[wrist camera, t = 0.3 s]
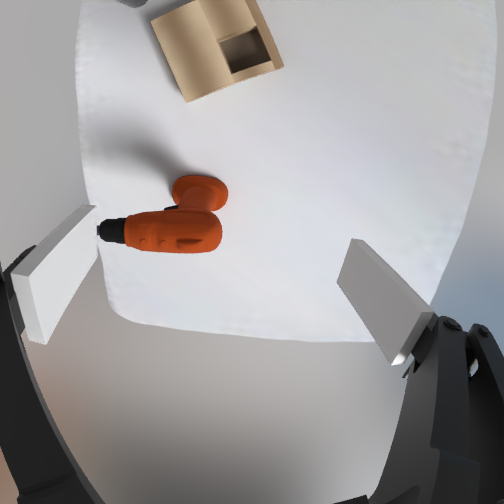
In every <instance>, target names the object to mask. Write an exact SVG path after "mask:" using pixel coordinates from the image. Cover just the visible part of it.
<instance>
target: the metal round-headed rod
mask: <svg viewBox="0 0 504 504" xmlns="http://www.w3.org/2000/svg"><path fill="white" fill-rule="evenodd" d="M116 1H118V2H121V3H123V4H125V5H128V6H130V7H133V8H136V7H140V6H142V5H144V4H145V3H146V2H147V1H148V0H116Z"/></svg>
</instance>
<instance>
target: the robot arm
mask: <svg viewBox="0 0 504 504" xmlns="http://www.w3.org/2000/svg"><path fill="white" fill-rule="evenodd" d="M96 258H97V206H94V205H82V206H80V208H78V209H77V210H76V211H74V212H73V213H72V214H71V215H70V216H69V217H68V218H66V220H64V221H63V222H62V223H61V224H60V225H59V226H57V227H56V228H55V229H54V230H53V231H52V232H51V233H50V234H49V235H48V236H47V237H46V238H45V239H44V240H42V241H41V242H40V244H38V245H37V246H36V245H34V246H32V247H30V248H28V249H26V250H25V251H24V252H23V253H21V254H20V255H19V257H18V258H16V259H15V260H14V262H13V263H12V264H11V265H10V266H9V267H8V268H7V269H6V270H5V271H4V272H2V268H1V263H0V447H1V449H2V452H3V455H4V457H5V460H6V462H7V465H8V467H9V470H10V472H11V474H12V477H13V479H14V481H15V483H16V485H17V488H18V490H19V496H18V498H17V502H18V504H105V502H104V501H103V500H102V499H101V497H100V496H99V495H98V493H97V492H96V490H95V489H94V487H93V486H92V484H91V483H90V482H89V480H88V479H87V477H86V476H85V474H84V472H83V471H82V469H81V468H80V466H79V465H78V463H77V462H76V460H75V458H74V456H73V455H72V453H71V451H70V450H69V448H68V446H67V444H66V442H65V441H64V439H63V437H62V435H61V433H60V431H59V429H58V427H57V426H56V423H55V421H54V419H53V417H52V415H51V413H50V411H49V409H48V407H47V404H46V402H45V400H44V398H43V395H42V393H41V391H40V388H39V386H38V383H37V381H36V379H35V376H34V373H33V370H32V368H31V365H30V362H29V360H28V357H27V353H26V350H25V347H24V344H23V341H22V338H21V333H22V332H23V330H24V329H26V332H27V335H28V338H29V340H30V341H33V342H37V343H41V344H45V345H46V344H47V342H48V340H49V338H50V336H51V334H52V332H53V331H54V329H55V327H56V325H57V323H58V321H59V319H60V318H61V316H62V314H63V312H64V311H65V309H66V307H67V305H68V304H69V302H70V300H71V298H72V297H73V295H74V293H75V292H76V290H77V288H78V287H79V285H80V283H81V282H82V280H83V279H84V277H85V275H86V274H87V272H88V271H89V269H90V267H91V266H92V264H93V263H94V261H95V260H96ZM337 284H338V285H339V287H340V288H341V290H342V291H343V293H344V294H345V295H346V297H347V298H348V300H349V301H350V303H351V304H352V306H353V307H354V309H355V310H356V312H357V313H358V315H359V316H360V318H361V319H362V321H363V322H364V324H365V325H366V327H367V329H368V330H369V332H370V333H371V335H372V336H373V338H374V339H375V341H376V342H377V344H378V345H379V347H380V349H381V350H382V352H383V353H384V355H385V357H386V358H387V360H388V361H389V363H390V365H397V364H403V363H405V361H406V359H407V358H408V356H409V355H410V353H412V355H413V356H414V360H413V361H412V363H411V364H410V366H409V368H408V369H407V370H406V372H405V373H404V375H403V377H402V378H405V376H406V375H408V379H407V380H408V381H407V386H406V390H405V396H404V400H403V404H402V409H401V413H400V417H399V421H398V424H397V428H396V432H395V435H394V439H393V442H392V445H391V449H390V452H389V455H388V458H387V461H386V464H385V467H384V470H383V473H382V476H381V479H380V481H379V484H378V487H377V488H376V490H375V492H374V493H373V495H372V496H371V497H370V498H369V499H367V496H366V495H363V496H360V497H357V498H353V499H349V500H346V501H342V502H338V503H334V504H504V357H503V355H502V353H501V351H500V349H499V347H498V345H497V343H496V341H495V339H494V337H493V335H492V334H491V332H490V331H489V330H488V328H487V327H485V326H483V325H480V324H473V325H472V327H471V329H470V330H469V332H465V331H463V330H462V327H461V326H460V325H459V324H458V323H457V322H456V321H455V320H454V319H451V318H449V317H446V316H441V317H438V316H437V315H436V314H435V313H434V311H433V310H432V309H431V308H430V307H429V305H428V304H427V303H426V302H425V301H424V300H423V299H422V298H421V297H420V296H419V295H418V294H417V293H416V292H415V291H414V290H413V289H412V288H411V287H410V286H409V284H408V283H407V282H406V281H405V280H404V279H403V278H402V277H401V276H400V275H399V274H398V273H397V272H396V271H395V270H394V269H393V268H392V267H391V266H390V265H389V264H388V263H387V262H386V261H384V260H383V259H382V258H381V257H380V256H379V255H378V254H377V253H376V252H375V251H374V250H373V249H372V248H371V247H370V246H369V245H368V244H367V243H366V242H365V241H364V240H358V239H351V242H350V245H349V248H348V251H347V254H346V257H345V260H344V263H343V266H342V268H341V271H340V274H339V277H338V280H337ZM477 363H478V370H477V371H476V373H475V374H474V375H473V376H471V374H470V372H471V371H472V370H473V368H474V367H475V365H476V364H477Z"/></svg>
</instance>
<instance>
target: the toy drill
mask: <svg viewBox="0 0 504 504" xmlns="http://www.w3.org/2000/svg"><path fill="white" fill-rule="evenodd" d="M172 196H173V200H174V202H175V204H177V205H175V206H171V207H167V208H164V210H163V211H153V212H142V213H138V214H134V215H129V216H128V217H127V218H118V219H106V220H104V221H103V222H101V224H100V226H97V235H100V238H101V239H103V240H104V241H106V242H116V243H120V244H126V245H127V246H128V247H133V248H136V249H138V250H141V251H152V252H167V253H203V252H210V251H213V250H215V249H216V248H217V247H218V245H219V244H220V242H221V239H222V225H221V223H220V221H219V219H218V218H217V216H216V215H215V214H213V213H212V212H211V211H216V210H219V209H220V208H222V207H223V206H224V205H225V203H226V201H227V198H228V190H227V187H226V185H225V184H224V183H223V182H221V181H219V180H217V179H214V178H211V177H206V176H196V175H190V176H184V177H181V178H179V179H178V180H176V182H175V183H174V185H173V189H172Z"/></svg>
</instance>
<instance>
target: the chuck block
mask: <svg viewBox="0 0 504 504" xmlns="http://www.w3.org/2000/svg"><path fill="white" fill-rule="evenodd" d="M151 24H152V26H153V29H154V31H155V33H156V35H157V38H158V40H159V42H160V45H161V47H162V49H163V51H164V54H165V56H166V58H167V61H168V63H169V65H170V67H171V70H172V72H173V74H174V76H175V79H176V81H177V83H178V86H179V88H180V90H181V92H182V95H183V97H184V99H185V102H186V103H187V102H191V101H194V100H196V99H198V98H201V97H203V96H205V95H208V94H210V93H213V92H215V91H218V90H220V89H223V88H225V87H228V86H230V85H233V84H236V83H239V82H241V81H244V80H247V79H250V78H253V77H255V76H258V75H261V74H265V73H268V72H271V71H274V70H277V69H280V68H283V67H284V64H283V62H282V59H281V57H280V54H279V52H278V49H277V47H276V45H275V42H274V40H273V38H272V35H271V33H270V31H269V29H268V26H267V24H266V22H265V20H264V17H263V15H262V13H261V11H260V9H259V7H258V5H257V2H256V0H195V1H192V2H190V3H188V4H185V5H183V6H181V7H179V8H177V9H174V10H172V11H170V12H168V13H166V14H164V15H162V16H160V17H158V18H156V19H154V20H152V21H151Z"/></svg>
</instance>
